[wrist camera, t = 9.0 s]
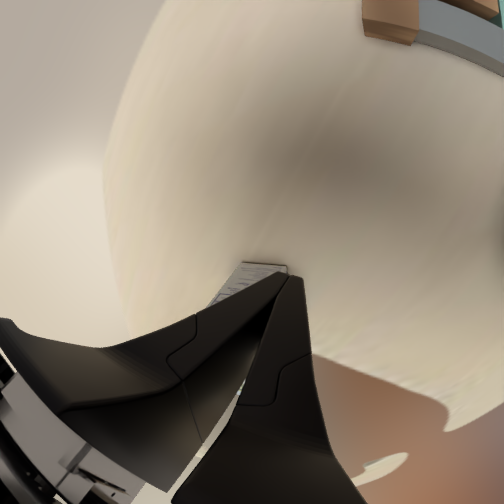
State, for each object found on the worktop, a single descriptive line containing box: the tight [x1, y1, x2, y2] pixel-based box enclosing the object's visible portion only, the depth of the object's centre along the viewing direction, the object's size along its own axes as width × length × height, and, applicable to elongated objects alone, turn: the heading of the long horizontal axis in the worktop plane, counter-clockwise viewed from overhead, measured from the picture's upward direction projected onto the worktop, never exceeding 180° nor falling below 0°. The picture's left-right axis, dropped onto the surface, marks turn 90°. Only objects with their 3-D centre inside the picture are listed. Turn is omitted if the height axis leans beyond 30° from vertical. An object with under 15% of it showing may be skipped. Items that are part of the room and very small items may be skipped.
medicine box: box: [206, 263, 287, 395], centre depth 23 cm, size 8×4×9 cm, turn 9°
